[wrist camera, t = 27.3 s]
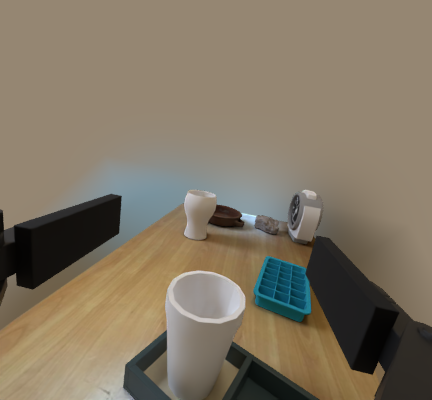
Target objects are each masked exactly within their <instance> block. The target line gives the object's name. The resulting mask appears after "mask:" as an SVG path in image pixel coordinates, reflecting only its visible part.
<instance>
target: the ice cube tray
mask: <svg viewBox="0 0 432 400" xmlns="http://www.w3.org/2000/svg"><path fill="white" fill-rule="evenodd" d="M306 270H307V269H306V268H304V267H301V266H298V265H295V264H292V263H289V262H286V261H283V260H279V259H276V258H273V257H270V256H267V257H266V258H265V260H264V263H263V266H262V269H261V271H260V274H259V277H258V279H257V282H256V285H255V288H254V294H255V295H256V299H255V302H256V304H257V305H258V306H260V307H262V308H265V309H267V310H270V311H272V312H275V313H277V314H280V315H282V316H285V317H287V318H290V319H293V320H295V321H298V322H302V320H303V318H304V315H309V314H310V313H311V300H310V286H309V281H308V279H307V277H306V274H305V273H306Z"/></svg>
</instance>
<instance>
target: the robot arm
mask: <svg viewBox="0 0 432 400" xmlns="http://www.w3.org/2000/svg"><path fill="white" fill-rule="evenodd" d="M121 197H122V196H118V195H113V194H110V195H106V196H103V197H100V198H97V199H94V200H91V201H88V202H85V203H82V204H79V205H75V206H73V207H69V208H66V209H63V210H60V211H57V212H54V213H51V214H48V215H45V216H42V217H39V218H35V219H32V220H29V221H26V222H23V223H20V224H17V225H14V227H12V228H9V229H6V230H4V224H3V211H2V210H0V305H1V302H2V299H3V297H4V294H5V291H6V288H7V277H9V276H11V275H13V274H15V273H16V280H17V286H21V287H25V288H29V289H35V288H36V287H38V286H39V285H40V284H42V283H44V282H45V281H47V280H48V279H50V278H51V277H53V276H54V275H56V274H57V273H59V272H61V271H62V270H64V269H65V268H67V267H68V266H70V265H71V264H72V263H74V262H76V261H77V260H79V259H80V258H82V257H83V256H85V255H86V254H88V253H89V252H91V251H93V250H94V249H96V248H97V247H99V246H100V245H102V244H103V243H105V242H106V241H108V240H109V239H111V238H112V237H114V236H116V235H117V234H119V226H120V211H121ZM305 274H306V277H307V279H308V281H309V283H310V285H311V287H312V289H313V291H314V293H315V295H316V297H317V299H318V301H319V303H320V306H321V308H322V310H323V312H324V314H325V316H326V318H327V320H328V322H329V324H330V326H331V328H332V330H333V332H334V335H335V337H336V339H337V341H338V343H339V345H340V347H341V349H342V351H343V353H344V355H345V357H346V359H347V361H348V364H349V366H350V368H351V369H352V370H356V371H360V372H364V373H368V374H372V375H373V373H374V370H375V368H376V366H377V363H378V361H379V363H380V364H381V366H382V368H383V369H384V371H385V374H384V376H383V378H382V381H381V383H380V385H379V387H378V389H377V392H376V394H375V399H374V400H432V327H430V326H428V325H426V324H424V323H420V322H416V321H413V320H412V319H411V318H410V317H409V316H408V314H406V313H405V312H404V310H403V309H402V308H401V307H399V306H398V304H396V302H395V301H394V300H393V299H392V298H390V296H389V295H388V294H387V293H386V292H385V291H384V290H383V289H382V288H380V287H379V286H377V285H376V284H374V283H373V282H371V281H369V280H368V279H367V278H366V277H365V276H364V274H363V273H362V272H361V271H360V270H359V269H358V268H357V267H356V266H355V265H354V264H353V263H352V262H351V261H350V260H349V259H348V258H347V257H346V255H345V254H344V253H343V252H342V251H341V250H340V249H339V248H338V247H337V246H336V245H335V244H334V243H333V242H332V241H331V240H330V239H329V238H326V237H321V236H316V239H315V243H314V246H313V249H312V253H311V256H310V260H309V263H308V266H307V270H306V273H305Z"/></svg>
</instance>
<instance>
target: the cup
mask: <svg viewBox="0 0 432 400" xmlns="http://www.w3.org/2000/svg"><path fill="white" fill-rule="evenodd" d="M216 203H217V202H216V195H215V194H213V193H210V192H206V191H201V190H190V191H188V193H187V195H186V197H185V203H184V207H185V212H186V215H187V226H186V229H185V232H184V235H185V236H186V237H188V238H190V239H194V240H202V239H205V238H206V235H207V224H208V221H209V219H210V218H211V217H212V215H213V213H214V211H215V209H216Z"/></svg>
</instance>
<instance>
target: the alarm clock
mask: <svg viewBox="0 0 432 400" xmlns="http://www.w3.org/2000/svg"><path fill="white" fill-rule="evenodd" d="M322 213H323V202H322V199H321V197H320V196H318V195H316V194H315V192H313V191H309V190H303V191H302V192H297V193H295V195H294V196H293V198H292V200H291V203H290V207H289V212H288V227H289V230H288V233H289V235H290V236H291V238H292V240H293V241H294V242H298V243H303V244H307V242H308V241H312V239H313V236H314V233H315V231H316V230H317V228H318V226H319V224H320V222H321V218H322Z"/></svg>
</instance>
